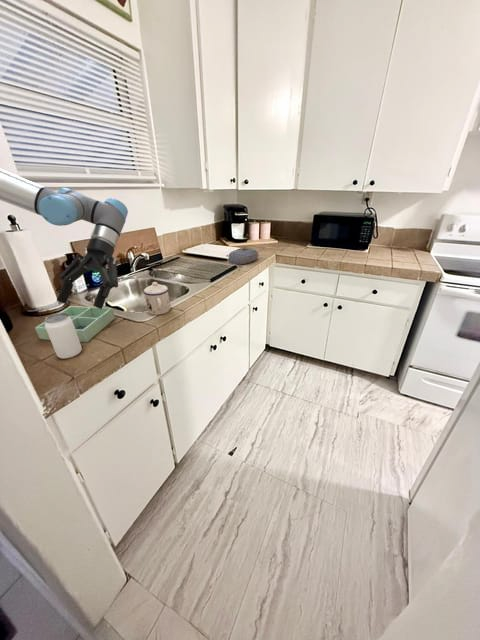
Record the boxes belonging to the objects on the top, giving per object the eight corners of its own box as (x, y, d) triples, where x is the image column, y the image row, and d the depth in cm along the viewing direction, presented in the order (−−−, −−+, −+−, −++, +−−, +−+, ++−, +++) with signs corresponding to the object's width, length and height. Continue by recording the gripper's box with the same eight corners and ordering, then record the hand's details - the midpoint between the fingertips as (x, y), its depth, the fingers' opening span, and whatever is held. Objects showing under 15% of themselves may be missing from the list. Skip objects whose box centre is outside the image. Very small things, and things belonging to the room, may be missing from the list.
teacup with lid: (146, 307, 106) (141, 280, 100) (168, 304, 109) (165, 277, 103) (149, 320, 96) (144, 291, 90) (174, 316, 99) (170, 287, 94)
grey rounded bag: (243, 266, 157) (263, 259, 171) (243, 252, 153) (263, 247, 167) (225, 262, 166) (245, 256, 179) (225, 248, 162) (245, 243, 175)
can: (54, 353, 78) (40, 317, 72) (78, 344, 82) (66, 310, 76) (60, 362, 74) (45, 325, 68) (85, 353, 78) (73, 317, 72)
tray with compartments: (39, 339, 85) (34, 327, 83) (73, 316, 99) (70, 305, 97) (87, 342, 83) (83, 330, 81) (114, 318, 98) (112, 307, 96)
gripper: (142, 252, 84) (121, 313, 79) (80, 248, 91) (57, 304, 85) (128, 238, 77) (104, 304, 72) (62, 235, 84) (36, 295, 78)
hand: (79, 304), depth 78 cm, fingers open, 13 cm apart
